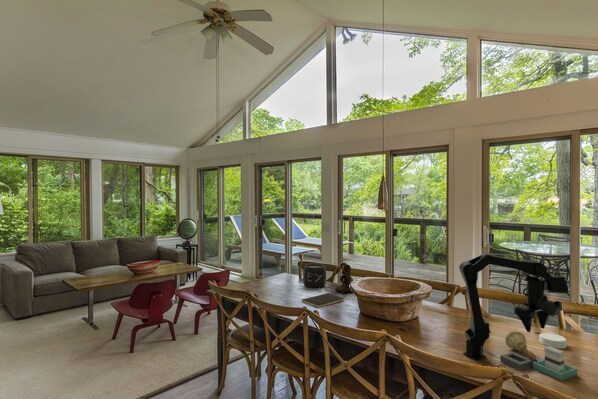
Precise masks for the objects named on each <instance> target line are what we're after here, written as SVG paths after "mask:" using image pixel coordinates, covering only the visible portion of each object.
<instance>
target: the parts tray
mask: <svg viewBox="0 0 598 399" xmlns="http://www.w3.org/2000/svg"><path fill="white" fill-rule="evenodd" d="M564 368H565V372H562V373H559V372H557V371H554V370H552V369H549V368H547V367H545V357H544V358H542V359H539V360H538V359H537V361H536V362H534V361H533V367H532V370H535V371H537V372H539V373H541V374H543V375H546V376H549V377H550V378H553V379H555V380H558V381H560V382H564V381H567V380H569V379H572V378H575V377H577V376H578V368H576V367H574V366H572V365H569V364H566V363H564Z"/></svg>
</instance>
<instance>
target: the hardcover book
mask: <svg viewBox="0 0 598 399" xmlns="http://www.w3.org/2000/svg"><path fill="white" fill-rule="evenodd" d="M343 300H345V298H344V297H343V296H339V295H336V294H332V293H329V292H327V293H323V294H318V295H314V296H311V297H307V298H302V299H301V302H302V303H304V302H305V303H304V304H307V305H309V306H312V307H316V308H318V309H319V308H323V307H326V306H329V305H333V304H337V303H340V301H341V302H344V301H343Z"/></svg>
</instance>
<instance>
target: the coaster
mask: <svg viewBox="0 0 598 399" xmlns="http://www.w3.org/2000/svg"><path fill="white" fill-rule="evenodd" d="M567 341H568V340H567V339H566V337H564V336H562V335H560V334H556V333H552V332H541V333H539V343H541V345H544V346H545V347H548V346H550V347H553V348H556V349H559V350H560V349H561V350H562V349H566V348H567V346H568V345H567V344H568V342H567Z"/></svg>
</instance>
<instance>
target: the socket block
mask: <svg viewBox="0 0 598 399" xmlns="http://www.w3.org/2000/svg"><path fill="white" fill-rule="evenodd" d="M499 360H500V363H503V364H505V365H507V366H509V367H511V368H513V369H516V370H518V371H520V372H522V371H524V370H528V369H531V368H533V362H534V361H533V360H531V359H529V358H528V357H527V356H524V355H523V354H522V355H521V354H519V353H516V352H514V351H511V352H508V353H505V354H501V355H500V358H499Z"/></svg>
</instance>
